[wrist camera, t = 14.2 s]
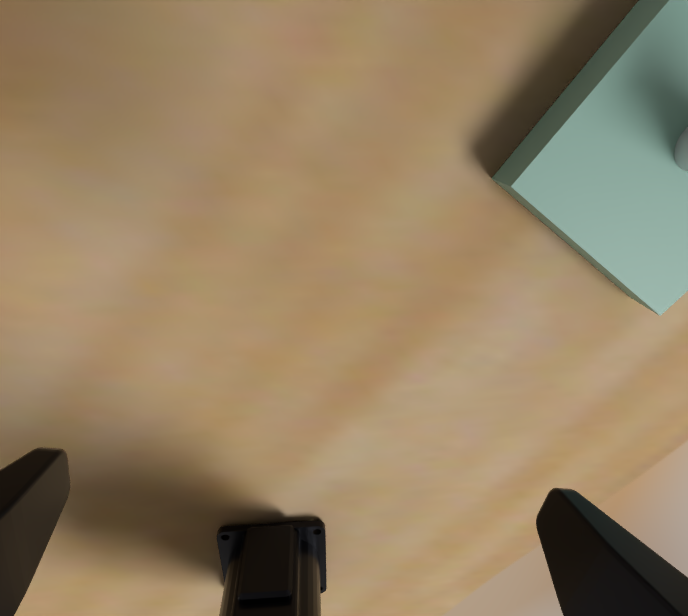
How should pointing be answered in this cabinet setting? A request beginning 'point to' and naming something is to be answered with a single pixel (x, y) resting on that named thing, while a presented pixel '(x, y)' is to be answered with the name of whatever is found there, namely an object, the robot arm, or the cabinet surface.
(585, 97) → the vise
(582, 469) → the cabinet surface
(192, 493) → the cabinet surface
